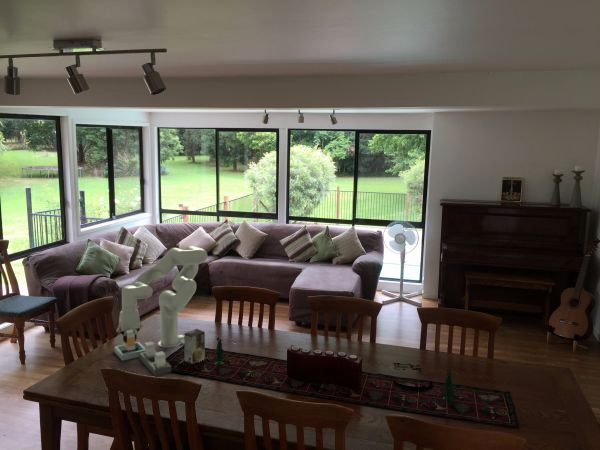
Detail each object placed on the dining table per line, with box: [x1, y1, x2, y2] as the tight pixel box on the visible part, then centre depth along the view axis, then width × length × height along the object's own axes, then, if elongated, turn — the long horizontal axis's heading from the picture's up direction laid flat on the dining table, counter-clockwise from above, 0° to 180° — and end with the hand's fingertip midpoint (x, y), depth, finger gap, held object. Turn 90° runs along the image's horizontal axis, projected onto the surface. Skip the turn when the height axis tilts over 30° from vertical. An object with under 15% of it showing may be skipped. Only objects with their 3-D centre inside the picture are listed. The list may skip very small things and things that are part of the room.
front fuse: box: [155, 350, 166, 368], centre depth 252 cm, size 4×4×9 cm
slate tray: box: [114, 341, 145, 361], centre depth 272 cm, size 13×13×4 cm
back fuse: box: [144, 341, 156, 357], centre depth 264 cm, size 4×4×9 cm
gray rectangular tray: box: [138, 350, 172, 377], centre depth 259 cm, size 8×23×4 cm, turn 36°
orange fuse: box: [124, 330, 136, 351], centre depth 270 cm, size 4×4×9 cm
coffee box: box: [183, 328, 206, 365], centre depth 266 cm, size 9×6×16 cm
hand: (129, 341), depth 270 cm, fingers closed on orange fuse, 4 cm apart
